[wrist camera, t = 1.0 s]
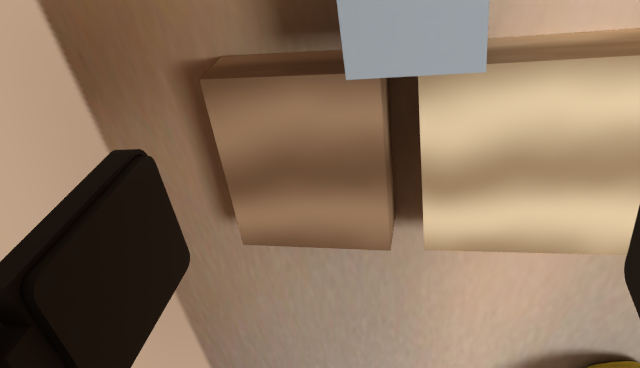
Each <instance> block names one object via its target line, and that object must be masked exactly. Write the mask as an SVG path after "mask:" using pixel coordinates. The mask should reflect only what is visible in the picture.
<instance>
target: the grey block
mask: <svg viewBox="0 0 640 368" xmlns="http://www.w3.org/2000/svg"><path fill="white" fill-rule="evenodd" d="M337 8H338V17H339V25H340V33H341V42H342V50H343V59H344V67H345V75H346V80H355V79H373V78H391V77H409V76H427V75H445V74H463V73H482V72H486V65H487V41H488V16H489V0H337Z"/></svg>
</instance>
